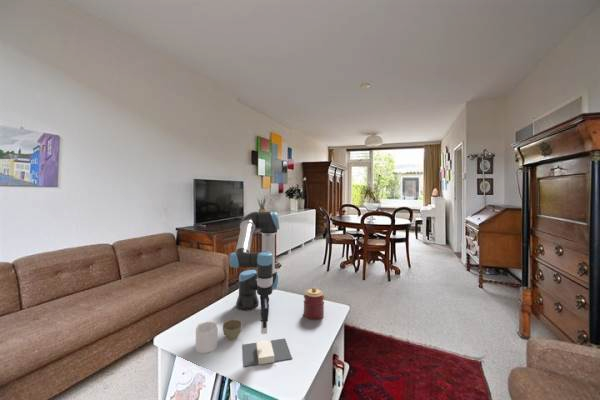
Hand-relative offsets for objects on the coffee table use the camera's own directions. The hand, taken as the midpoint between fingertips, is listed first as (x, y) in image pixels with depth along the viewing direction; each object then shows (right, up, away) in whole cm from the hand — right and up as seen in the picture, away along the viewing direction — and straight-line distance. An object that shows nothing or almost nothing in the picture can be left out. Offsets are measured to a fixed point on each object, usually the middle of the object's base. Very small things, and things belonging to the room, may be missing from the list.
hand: (264, 332), depth 119 cm
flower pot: (-19, -9, +11) cm, 23 cm away
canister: (+26, -9, +36) cm, 46 cm away
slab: (-1, -7, +2) cm, 7 cm away
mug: (-30, -9, +3) cm, 31 cm away
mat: (+1, -9, 0) cm, 9 cm away
